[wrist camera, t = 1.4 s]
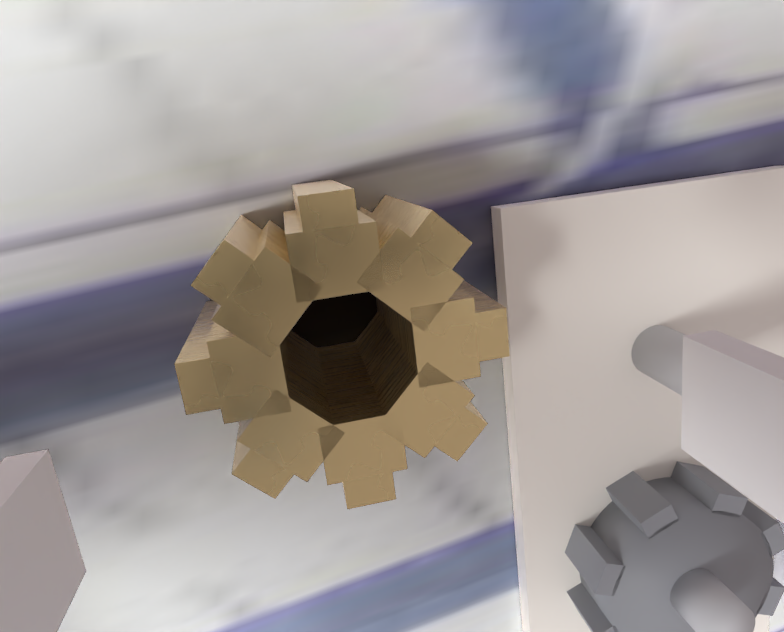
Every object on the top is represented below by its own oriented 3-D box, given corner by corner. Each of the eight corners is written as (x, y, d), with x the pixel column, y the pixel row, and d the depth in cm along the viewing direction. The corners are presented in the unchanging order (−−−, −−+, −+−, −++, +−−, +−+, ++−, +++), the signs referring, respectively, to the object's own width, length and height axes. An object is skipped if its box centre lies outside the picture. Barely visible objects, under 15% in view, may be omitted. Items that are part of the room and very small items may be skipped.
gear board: (526, 680, 33) (615, 868, 24) (490, 206, 26) (598, 230, 17) (752, 620, 35) (910, 775, 26) (776, 165, 28) (1004, 168, 19)
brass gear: (233, 427, 26) (214, 537, 19) (185, 198, 24) (140, 217, 16) (452, 387, 28) (517, 473, 20) (430, 166, 25) (496, 169, 17)
